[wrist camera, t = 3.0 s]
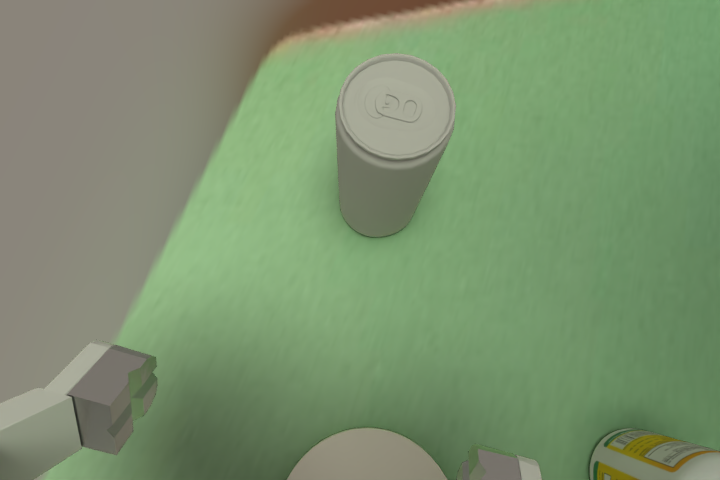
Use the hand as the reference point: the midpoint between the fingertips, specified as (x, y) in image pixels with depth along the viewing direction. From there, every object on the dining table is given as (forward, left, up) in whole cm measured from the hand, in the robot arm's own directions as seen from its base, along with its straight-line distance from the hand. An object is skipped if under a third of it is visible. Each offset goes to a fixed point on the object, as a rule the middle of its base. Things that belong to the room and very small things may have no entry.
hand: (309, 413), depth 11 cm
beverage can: (0, -11, -16) cm, 19 cm away
